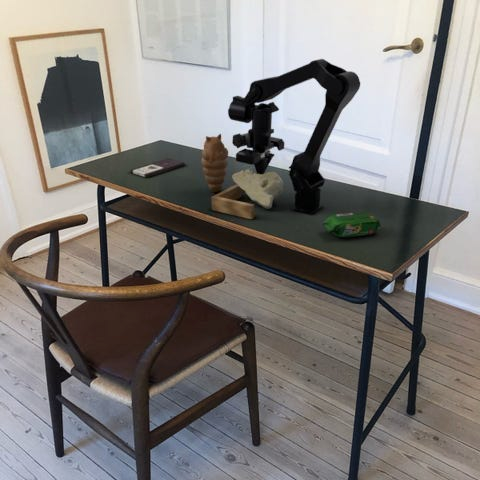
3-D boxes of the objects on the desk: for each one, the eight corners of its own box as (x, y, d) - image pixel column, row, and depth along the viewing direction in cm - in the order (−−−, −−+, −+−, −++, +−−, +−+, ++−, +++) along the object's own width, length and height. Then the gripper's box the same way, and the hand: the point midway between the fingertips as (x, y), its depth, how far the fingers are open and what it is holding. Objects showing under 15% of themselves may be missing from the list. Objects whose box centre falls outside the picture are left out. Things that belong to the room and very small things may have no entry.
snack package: (318, 231, 142) (319, 213, 139) (371, 225, 145) (374, 207, 142) (327, 242, 137) (329, 224, 134) (383, 235, 139) (386, 217, 136)
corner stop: (276, 203, 160) (276, 191, 158) (251, 219, 150) (251, 206, 148) (238, 195, 167) (237, 183, 164) (211, 210, 157) (211, 197, 154)
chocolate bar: (184, 162, 193) (146, 174, 182) (184, 165, 194) (147, 177, 182) (168, 158, 198) (130, 169, 187) (168, 160, 199) (130, 172, 188)
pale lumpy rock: (292, 210, 158) (285, 165, 162) (282, 201, 152) (275, 155, 155) (246, 225, 164) (240, 181, 168) (235, 217, 158) (230, 172, 161)
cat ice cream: (210, 198, 165) (207, 139, 155) (197, 191, 170) (194, 134, 160) (233, 192, 169) (232, 135, 159) (220, 186, 174) (218, 129, 164)
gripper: (255, 114, 163) (254, 164, 172) (220, 128, 150) (221, 181, 159) (286, 120, 158) (283, 171, 167) (253, 135, 145) (252, 189, 154)
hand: (259, 177), depth 162 cm, fingers closed
